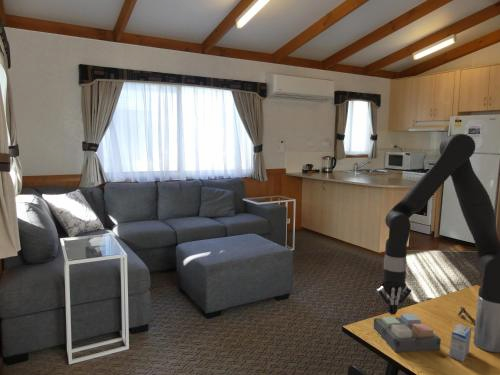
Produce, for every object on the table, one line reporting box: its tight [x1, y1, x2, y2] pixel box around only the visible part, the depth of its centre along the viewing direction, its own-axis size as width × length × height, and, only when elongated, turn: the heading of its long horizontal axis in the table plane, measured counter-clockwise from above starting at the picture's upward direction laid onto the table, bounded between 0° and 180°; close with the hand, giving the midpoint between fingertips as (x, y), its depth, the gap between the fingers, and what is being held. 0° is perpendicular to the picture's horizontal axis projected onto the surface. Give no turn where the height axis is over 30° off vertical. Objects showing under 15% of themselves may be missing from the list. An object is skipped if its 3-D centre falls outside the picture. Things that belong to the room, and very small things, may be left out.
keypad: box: [373, 316, 442, 353], centre depth 137 cm, size 16×16×4 cm
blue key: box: [400, 313, 421, 327], centre depth 141 cm, size 5×5×2 cm
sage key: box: [381, 316, 400, 328], centre depth 140 cm, size 5×5×2 cm
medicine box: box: [448, 323, 472, 362], centre depth 128 cm, size 8×4×9 cm, turn 141°
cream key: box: [391, 324, 412, 339], centre depth 132 cm, size 5×5×2 cm
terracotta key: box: [412, 323, 434, 338], centre depth 134 cm, size 5×5×2 cm
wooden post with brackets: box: [457, 306, 476, 326], centre depth 153 cm, size 2×8×4 cm, turn 21°
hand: (392, 313), depth 139 cm, fingers closed
